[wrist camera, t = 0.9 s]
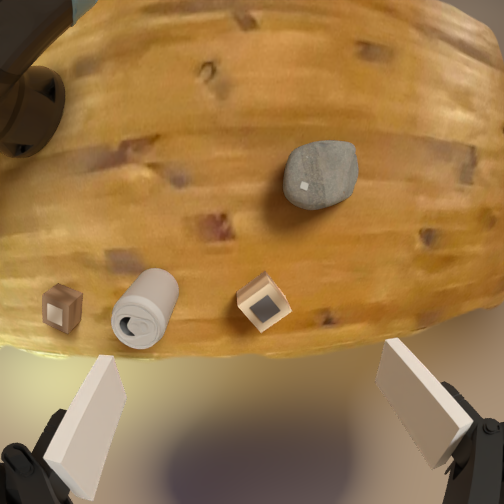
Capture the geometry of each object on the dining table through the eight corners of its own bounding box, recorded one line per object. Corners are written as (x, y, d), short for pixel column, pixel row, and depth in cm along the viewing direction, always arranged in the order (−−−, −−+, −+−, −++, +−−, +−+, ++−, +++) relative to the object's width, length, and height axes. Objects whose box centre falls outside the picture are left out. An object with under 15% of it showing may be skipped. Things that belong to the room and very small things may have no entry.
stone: (355, 211, 40) (350, 216, 31) (295, 204, 43) (273, 207, 34) (359, 149, 37) (355, 135, 28) (299, 144, 41) (278, 131, 32)
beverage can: (133, 267, 39) (101, 301, 28) (176, 264, 40) (156, 299, 28) (141, 308, 41) (115, 352, 29) (183, 306, 41) (168, 352, 30)
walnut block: (57, 309, 40) (42, 323, 35) (58, 283, 39) (41, 294, 34) (81, 319, 41) (67, 334, 36) (83, 292, 40) (68, 306, 35)
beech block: (236, 291, 41) (237, 306, 36) (265, 270, 41) (269, 283, 36) (257, 316, 42) (261, 333, 37) (285, 296, 42) (292, 311, 37)
